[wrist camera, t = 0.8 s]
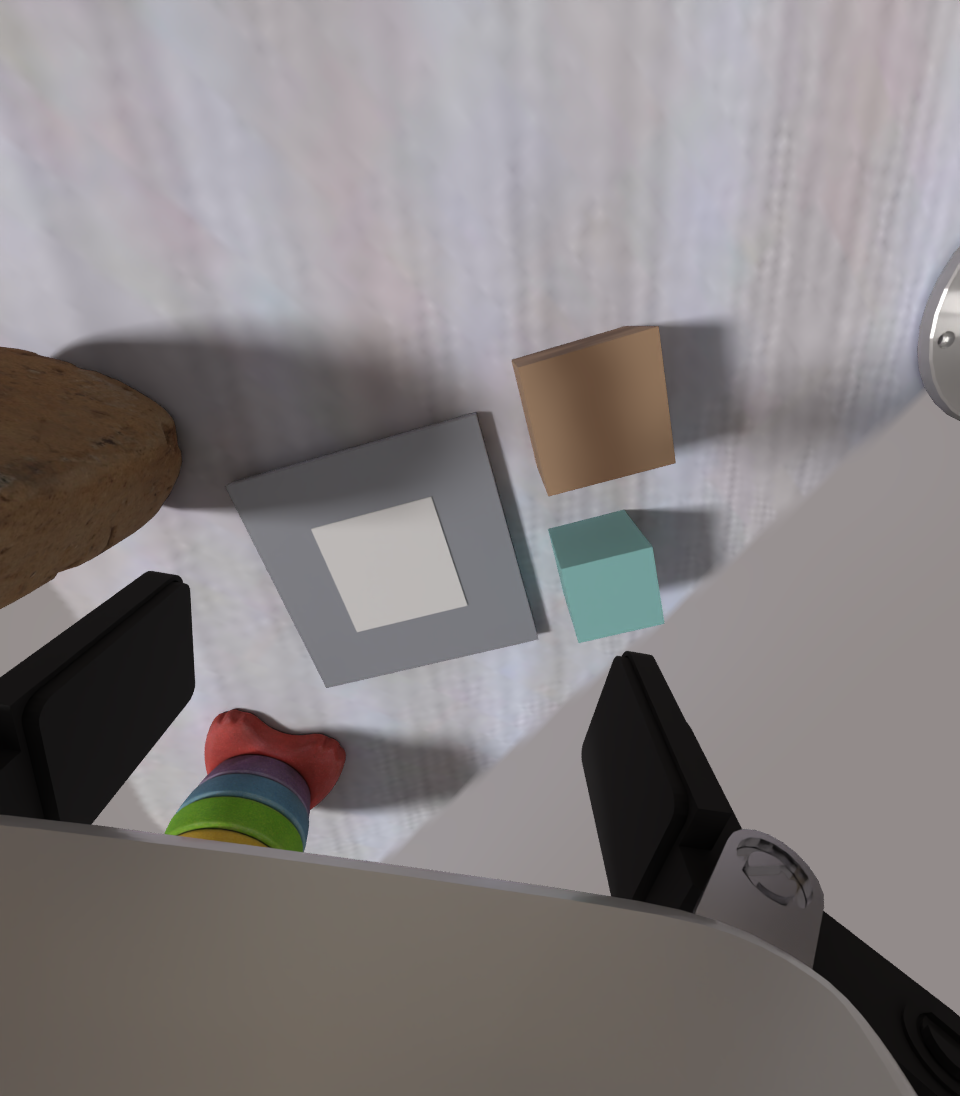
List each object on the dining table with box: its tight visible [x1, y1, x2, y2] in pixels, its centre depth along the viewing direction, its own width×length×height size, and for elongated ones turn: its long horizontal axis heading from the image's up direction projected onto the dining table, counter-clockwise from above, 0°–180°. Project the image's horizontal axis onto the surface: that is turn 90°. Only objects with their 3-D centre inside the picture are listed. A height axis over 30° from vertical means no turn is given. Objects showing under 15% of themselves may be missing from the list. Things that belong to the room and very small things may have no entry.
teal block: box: [548, 510, 664, 643], centre depth 31 cm, size 5×5×6 cm
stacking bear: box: [165, 710, 346, 852], centre depth 33 cm, size 11×10×18 cm
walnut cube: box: [512, 326, 676, 496], centre depth 27 cm, size 6×6×6 cm
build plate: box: [225, 412, 538, 688], centre depth 33 cm, size 16×16×1 cm
